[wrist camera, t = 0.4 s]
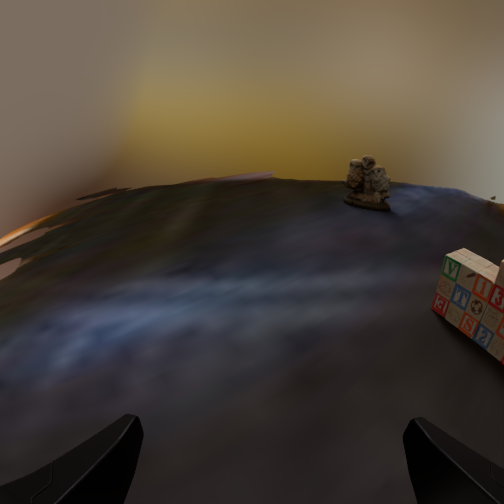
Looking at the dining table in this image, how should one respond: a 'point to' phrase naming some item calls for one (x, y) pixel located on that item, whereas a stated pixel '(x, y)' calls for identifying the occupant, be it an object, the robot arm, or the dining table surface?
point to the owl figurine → (367, 185)
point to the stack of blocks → (473, 299)
